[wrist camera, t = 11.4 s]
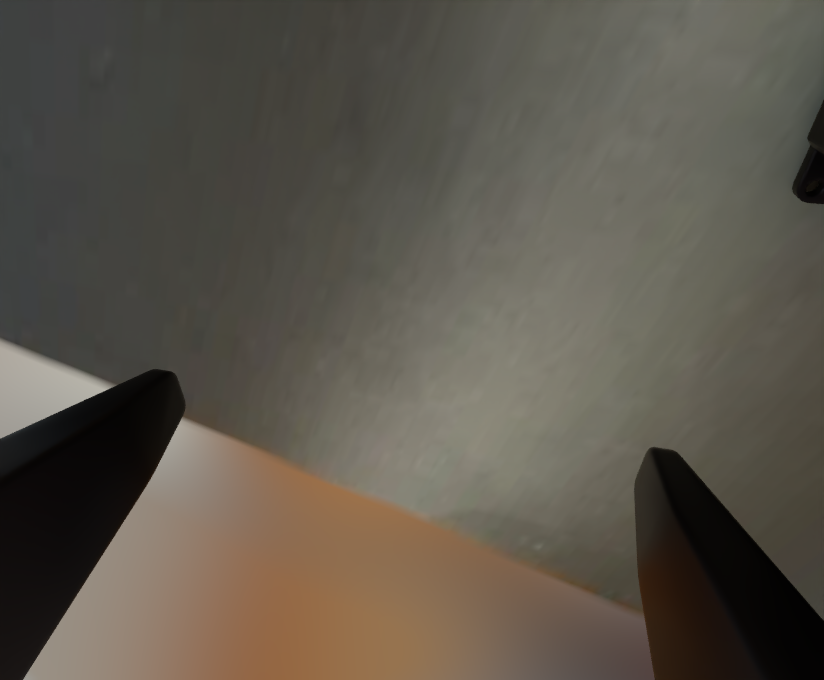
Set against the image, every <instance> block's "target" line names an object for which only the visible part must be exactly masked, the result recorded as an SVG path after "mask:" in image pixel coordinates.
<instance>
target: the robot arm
mask: <svg viewBox="0 0 824 680" xmlns="http://www.w3.org/2000/svg"><path fill="white" fill-rule="evenodd" d="M808 141H809V142H810V144H811V146H810V148H809V150H808V152H807V155H806V157H805V159H804V161H803V163H802V166H801V168H800V170H799V172H798V174H797V177H796V179H795V181H794V184H793V188H792V189H793V193H794V194H795V195H796V196H797V197H798V198H799V199H800V200H801V201H803V202H807V203H817V204H824V101H823V103H822V105H821V108H820V110H819V112H818V114H817V117H816V119H815V121H814V123H813V126H812V128H811V130H810V132H809V135H808ZM817 180H819V185H818V186H817V187H816V189H814V190H812V191H808V192H806V187H807V186H808V185H809V184H810V183H811V182H813V181H817ZM185 406H186V405H185V399H184V396H183V393H182V390H181V387H180V384H179V381H178V378H177V376H176V375H175V374H174V373H173V372H171V371H165V370H159V369H153V370H150V371H148V372H145V373H143V374H141V375H139V376H137V377H134V378H132V379H130V380H128V381H126V382H123V383H121V384H119V385H117V386H115V387H113V388H110V389H108V390H106V391H104V392H102V393H99V394H97V395H95V396H93V397H91V398H89V399H86V400H84V401H82V402H80V403H78V404H75V405H73V406H71V407H69V408H67V409H65V410H62V411H60V412H58V413H56V414H53V415H51V416H49V417H47V418H45V419H43V420H40V421H38V422H36V423H34V424H32V425H29V426H28V427H25V428H23V429H21V430H19V431H16V432H14V433H12V434H10V435H8V436H5V437H3V438H1V439H0V680H23V679H24V677H25V675H26V674H27V672H28V671H29V669H30V668H31V666H32V665H33V663H34V661H35V660H36V658H37V657H38V655H39V654H40V652H41V650H42V649H43V647H44V646H45V644H46V643H47V641H48V640H49V638H50V636H51V635H52V633H53V632H54V630H55V629H56V627H57V625H58V624H59V622H60V621H61V619H62V617H63V616H64V614H65V613H66V611H67V610H68V608H69V607H70V605H71V603H72V602H73V600H74V599H75V597H76V596H77V594H78V592H79V591H80V589H81V588H82V586H83V585H84V583H85V581H86V580H87V578H88V577H89V575H90V574H91V572H92V571H93V569H94V567H95V566H96V564H97V563H98V561H99V559H100V558H101V556H102V555H103V553H104V552H105V550H106V549H107V547H108V545H109V544H110V542H111V541H112V539H113V538H114V536H115V534H116V533H117V531H118V529H119V528H120V527H121V525H122V523H123V522H124V520H125V519H126V517H127V515H128V514H129V512H130V511H131V509H132V508H133V506H134V505H135V503H136V501H137V500H138V498H139V497H140V495H141V494H142V492H143V490H144V489H145V487H146V486H147V484H148V482H149V481H150V479H151V477H152V475H153V473H154V472H155V470H156V468H157V466H158V464H159V462H160V460H161V458H162V456H163V454H164V452H165V450H166V448H167V446H168V444H169V442H170V440H171V438H172V436H173V434H174V432H175V430H176V428H177V426H178V424H179V422H180V420H181V418H182V416H183V414H184V411H185ZM634 495H635V519H636V543H637V565H638V577H639V585H640V592H641V598H642V604H643V610H644V616H645V622H646V628H647V635H648V641H649V647H650V653H651V659H652V665H653V671H654V677H655V680H824V621H823V619H822V618H821V617H820V616H819V615H818V614H817V613H816V611H815V610H814V609H813V608H812V607H811V606H810V604H809V603H808V602H807V601H806V600H805V599H804V598H803V596H802V595H801V594H800V593H799V592H798V591H797V589H796V588H795V587H794V586H793V585H792V584H791V583H790V581H789V580H788V579H787V578H786V577H785V576H784V574H783V573H782V572H781V571H780V570H779V569H778V568H777V566H776V565H775V564H774V563H773V562H772V561H771V559H770V558H769V557H768V556H767V555H766V554H765V553H764V551H763V550H762V549H761V548H760V547H759V546H758V545H757V543H756V542H755V541H754V540H753V539H752V538H751V536H750V535H749V534H748V533H747V532H746V531H745V530H744V528H743V527H742V526H741V525H740V524H739V523H738V521H737V520H736V519H735V518H734V517H733V516H732V515H731V513H730V512H729V511H728V510H727V509H726V508H725V506H724V505H723V504H722V503H721V502H720V501H719V500H718V498H717V497H716V496H715V495H714V494H713V493H712V491H711V490H710V489H709V488H708V487H707V486H706V485H705V483H704V482H703V481H702V480H701V479H700V478H699V477H698V475H697V474H696V473H695V472H694V471H693V470H692V468H691V467H690V466H689V465H688V464H687V463H686V462H685V460H684V459H683V458H682V457H681V456H680V455H679V454H678V453H677V452H676V451H674V450H670V449H663V448H657V447H651V448H649V449H648V451H647V452H646V454H645V457H644V459H643V462H642V464H641V467H640V469H639V472H638V474H637V477H636V480H635V487H634Z"/></svg>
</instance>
